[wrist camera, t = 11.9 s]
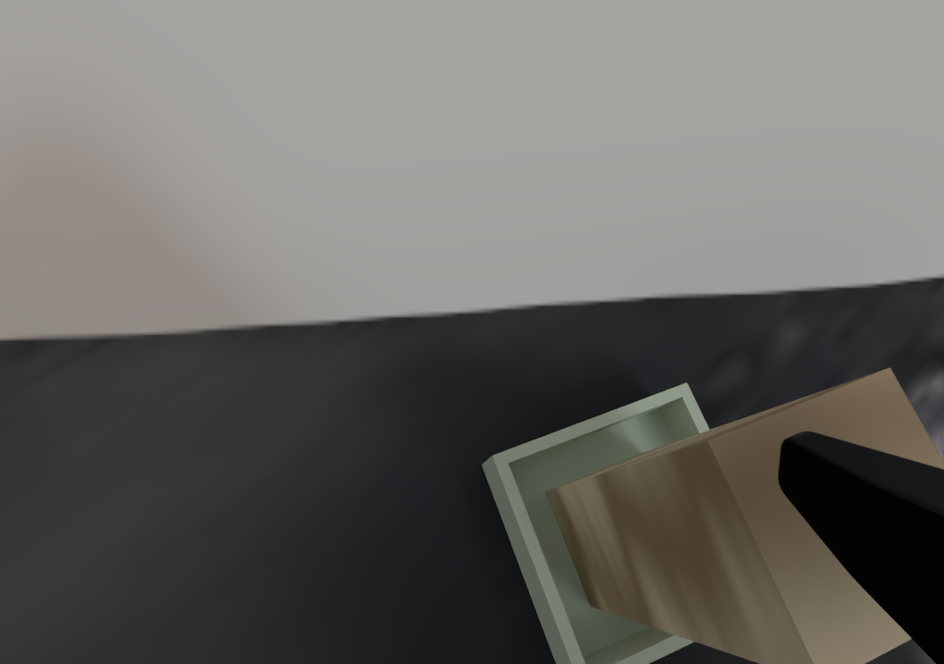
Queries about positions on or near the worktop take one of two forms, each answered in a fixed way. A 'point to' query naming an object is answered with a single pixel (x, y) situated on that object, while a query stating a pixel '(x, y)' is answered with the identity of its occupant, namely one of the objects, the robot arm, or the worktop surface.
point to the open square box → (541, 542)
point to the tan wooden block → (738, 533)
